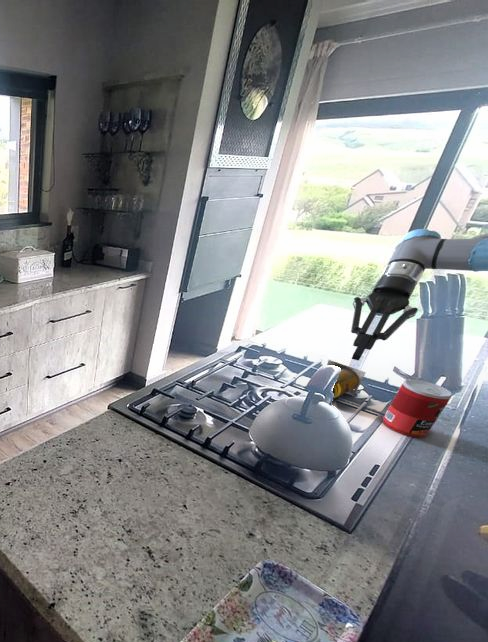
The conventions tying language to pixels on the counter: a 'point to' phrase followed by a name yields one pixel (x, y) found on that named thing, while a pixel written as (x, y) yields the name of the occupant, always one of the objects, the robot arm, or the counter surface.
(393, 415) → the canned food
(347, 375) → the condiment
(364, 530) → the counter surface
